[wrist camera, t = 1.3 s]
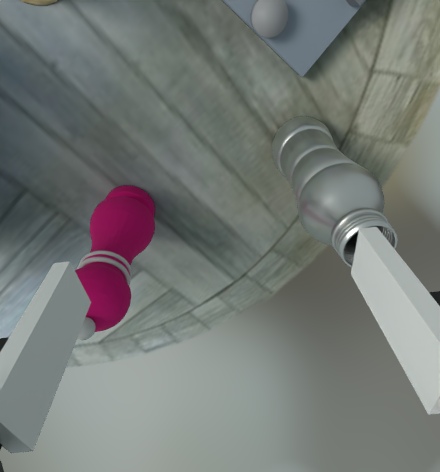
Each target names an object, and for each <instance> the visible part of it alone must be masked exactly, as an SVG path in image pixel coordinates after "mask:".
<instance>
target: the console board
mask: <svg viewBox="0 0 440 472" xmlns="http://www.w3.org/2000/svg"><path fill="white" fill-rule="evenodd" d="M222 1H223V2H224V3H225V4H226V5H227V6H228V7H229V8H230V9H231V10H232V11H233V12H234V13H235V14H236V15H237V16H238V17H239V18H240V19H241V20H242V21H243V22H244V23H245V24H246V25H248V26H249V27H250V28H251V29H252V30H253V31H254V32H255V33H256V34H257V35H258V36H259V37H260V38H261V39H262V40H263V41H264V42H265V43H266V44H267V45H268V46H269V47H270V48H271V49H272V50H273V51H274V52H275V53H276V54H277V55H278V56H279V57H280V58H281V59H282V60H283V61H284V62H285V63H286V64H287V65H289V66H290V67H291V68H292V69H293V70H294V71H295V72H296V73H297V74H298V75H299V76H301V77H303V76H304V75H305V74H306V72H307V71H308V70H309V69H310V68H311V66H312V65H313V64H314V63H315V62H316V60H317V59H318V58H319V57H320V56H321V54H322V53H323V52H324V51H325V50H326V48H327V47H328V46H329V45H330V43H331V42H332V41H333V40H334V39H335V37H336V36H337V35H338V34H339V33H340V31H341V30H342V29H343V28H344V27H345V25H346V24H347V23H348V22H349V21H350V19H351V18H352V17H353V16H354V15H355V13H356V12H357V11H358V10H359V9H360V7H361V6H362V5H363V4H364V3H365V1H366V0H222Z"/></svg>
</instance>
